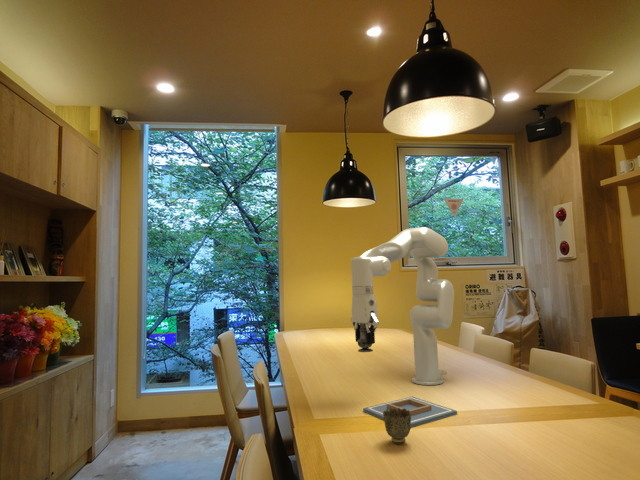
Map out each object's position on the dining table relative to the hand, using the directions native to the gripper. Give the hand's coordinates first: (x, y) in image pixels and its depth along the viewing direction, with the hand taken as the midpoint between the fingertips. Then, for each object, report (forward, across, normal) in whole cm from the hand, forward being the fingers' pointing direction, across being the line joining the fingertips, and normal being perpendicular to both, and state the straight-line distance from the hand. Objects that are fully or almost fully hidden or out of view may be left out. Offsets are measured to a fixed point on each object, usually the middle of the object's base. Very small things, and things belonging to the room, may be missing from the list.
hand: (365, 342), depth 145 cm
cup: (+21, -32, +13) cm, 40 cm away
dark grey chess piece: (+3, 0, 0) cm, 3 cm away
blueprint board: (+21, -15, -5) cm, 27 cm away
